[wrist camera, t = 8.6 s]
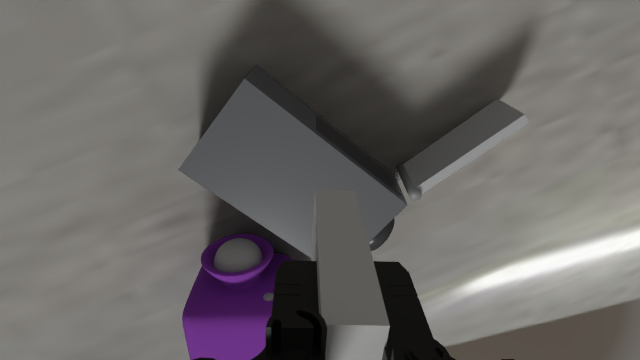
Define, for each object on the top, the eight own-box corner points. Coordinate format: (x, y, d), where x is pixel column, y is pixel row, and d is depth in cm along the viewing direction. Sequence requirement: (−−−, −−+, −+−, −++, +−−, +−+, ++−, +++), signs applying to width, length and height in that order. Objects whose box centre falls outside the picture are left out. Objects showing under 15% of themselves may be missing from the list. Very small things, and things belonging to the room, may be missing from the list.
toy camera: (283, 207, 39) (273, 271, 30) (313, 311, 45) (313, 391, 36) (179, 228, 40) (139, 296, 31) (222, 327, 46) (198, 409, 37)
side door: (495, 97, 34) (525, 114, 29) (503, 110, 35) (534, 129, 30) (394, 167, 37) (406, 194, 32) (403, 178, 38) (417, 206, 33)
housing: (199, 143, 36) (174, 174, 30) (256, 64, 33) (242, 80, 27) (345, 245, 41) (350, 289, 35) (406, 183, 38) (424, 220, 32)
